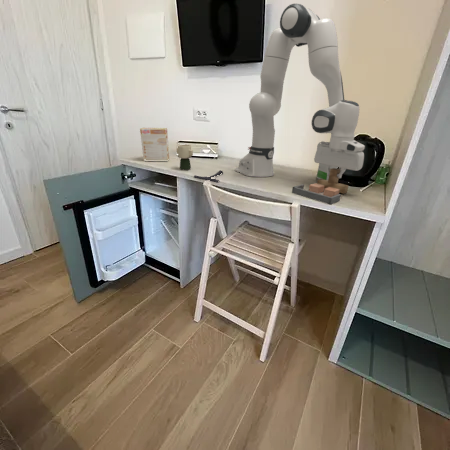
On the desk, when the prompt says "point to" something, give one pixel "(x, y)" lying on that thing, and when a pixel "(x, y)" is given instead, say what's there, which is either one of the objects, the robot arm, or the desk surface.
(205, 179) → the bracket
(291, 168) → the desk surface
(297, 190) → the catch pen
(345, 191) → the wooden toy blocks
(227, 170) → the desk surface
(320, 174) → the skincare box
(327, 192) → the tile right
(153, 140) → the coffeecake box
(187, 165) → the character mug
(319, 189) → the tile left
